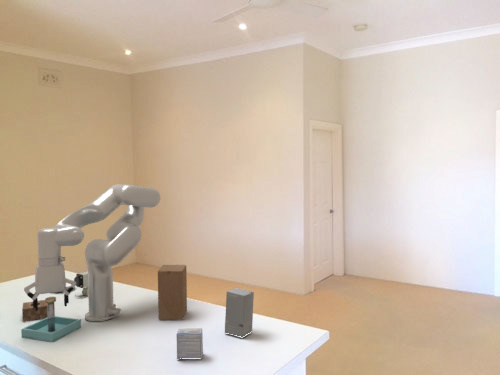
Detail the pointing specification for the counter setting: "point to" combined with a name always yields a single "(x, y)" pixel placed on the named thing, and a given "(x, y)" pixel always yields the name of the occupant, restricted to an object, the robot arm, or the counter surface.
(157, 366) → the counter surface
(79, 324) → the tray
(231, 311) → the skincare box
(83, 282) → the pneumatic valve
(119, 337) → the counter surface
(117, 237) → the robot arm
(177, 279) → the wooden block
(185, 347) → the medicine box
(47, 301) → the lock pin
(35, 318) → the block
